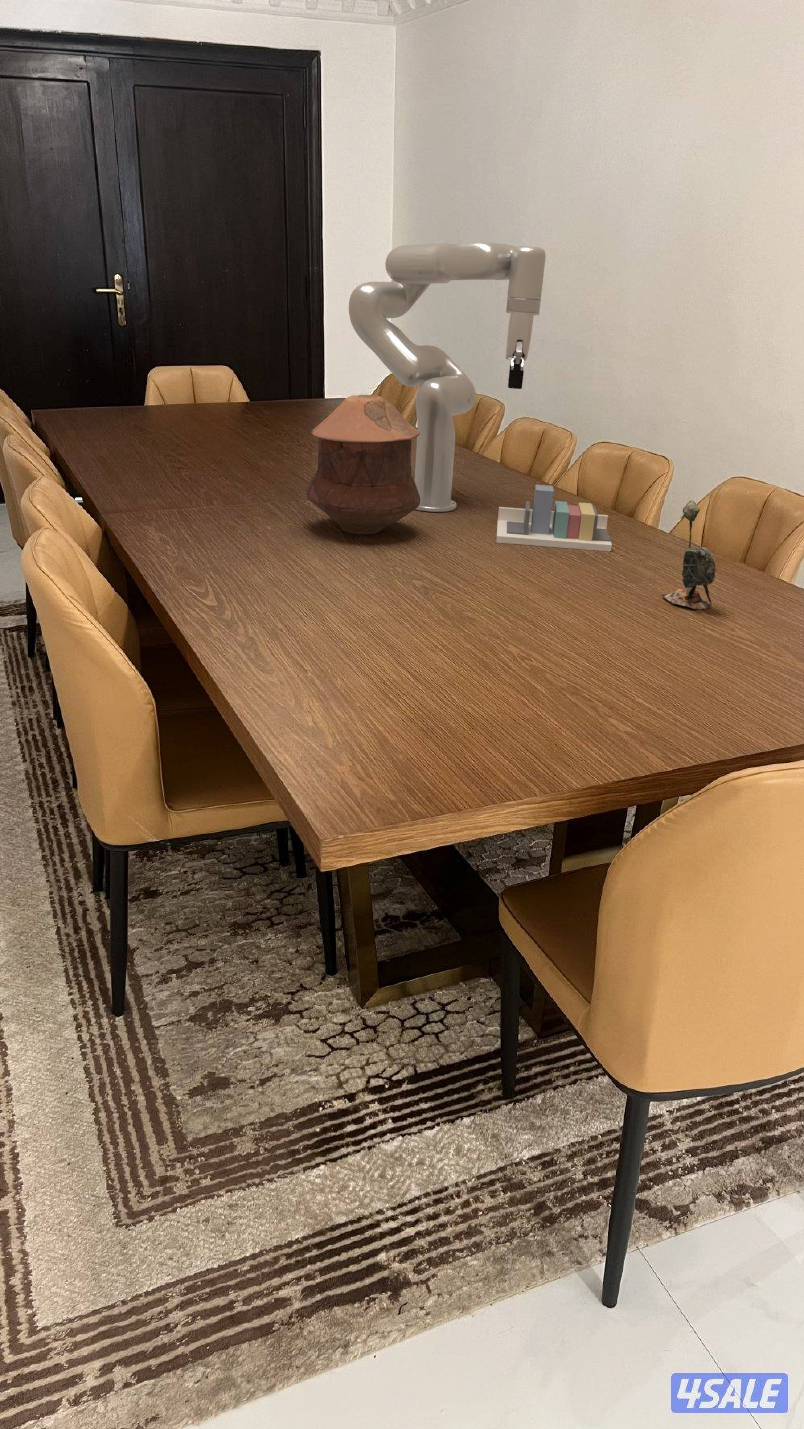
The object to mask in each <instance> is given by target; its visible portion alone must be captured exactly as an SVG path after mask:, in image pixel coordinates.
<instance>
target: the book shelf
mask: <svg viewBox="0 0 804 1429" xmlns="http://www.w3.org/2000/svg"><path fill="white" fill-rule="evenodd" d="M532 513H533V508H531V503H530V501H529V500H526V501H525V508H520V507H519V508H518V507H517V508H516V507H506V506H499V507H498V515H497V525H496V543H498V544H508V545H509V544H511V545H512V544H513V545H523V546H524V545H525V546H537V547H549V548H561V549H562V548H563V549H572V550H573V549H574V550H575V549H577V550H585V551H587V550H588V551H600V552H610V551H611V552H612V547H613V544H612V541H611V538H610V536H609V532H608V529H607V527H608V518H609V515H608V514H598V511H597V509H596V506H595V505H593V503H590V502H589V503H588V502H578V504H577V505H571V504H568V502H567V501H561V500H554V507H553V510H552V511H551V520H550V528H549V534H536V533H531V522H532Z"/></svg>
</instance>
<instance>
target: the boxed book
mask: <svg viewBox="0 0 804 1429" xmlns="http://www.w3.org/2000/svg"><path fill="white" fill-rule="evenodd" d="M534 488H535V489H534V495H533V496H534V497H533V504H532V505H533V506H532V509H533V513H532V522H531V533H536V534H549V528H550V520H551V511H553V510H552V509H553V500H554V494H555V493H554V492H555V490H554V486H553V485H547V484H535V487H534Z"/></svg>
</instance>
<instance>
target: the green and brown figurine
mask: <svg viewBox="0 0 804 1429" xmlns="http://www.w3.org/2000/svg"><path fill="white" fill-rule="evenodd" d="M700 510H701V509H700V507H699V506H698V504H697V503H696V502H695V501H694V500H689V501H688V502H687V503H686V505H685V506H684V507H683V508H682V513H683V514H682V515H681V517H680V519H681V520H683V519H684V518H686V520H687V521H689V524H688V526H689V529H688V530H689V543H688V549H686V550H684V551H685V552H684V556H683V562H682V572H681V575H682V583H683V588H679V589H676V590H675V591H673V592H669V593H665V594H663V593H662V597H663V598H664V599H665V600H667V601H669V603H670V604H672V605H674V604H675V605H678V606H682V607H686V608H689V609H693V610H697V611H698V610H699V611H700V610H704V609H709V608H711V607H712V605H713V603H714V602H713V599H712V598H711V596H710V591H709V587H708V585H711V584H713V582H714V581H715V579H716V576H717V575H716V571H717V569H716V561H715V559H714V556H713V555H712V553H711V551H710V550H709V549H708V548H707V547H703V546H694V547H691V544H692V529H693V522H695V521H696V518H697V516H698V515H699V512H700ZM697 586H698V587H699V586H703V589H704V592H705V594H706V598H707V600H708V601H709V602H708V601H707V600H706V599H704V598H702V597H701V594H700V593H699V591H698V590H696V589H697Z"/></svg>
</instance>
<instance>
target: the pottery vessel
mask: <svg viewBox="0 0 804 1429" xmlns="http://www.w3.org/2000/svg"><path fill="white" fill-rule="evenodd" d="M310 434H311V435H312V436H313V437H315V438H318V439H317V448H318V449H317V451H318V452H317V453H318V454H317V470H316V472H315V473H314V474H313V476H312V478H311V479H310V481H309V483H308V485H307V487H306V491H305V494H306V497H307V499H308V500H309V501H310V502H311V503H312V504H313V505H314V506H316V507H318V509H320V510H321V511H322V512H324V513H325V514H326V515H327V516H328V517H329V518H331V519H332V520H334V521H335V523H336V524H338V526H340V529H341V530H342V532H345V533H348V534H349V533H350V534H354V535H374V534H378V533H380V532H382V531H383V529H384V528H386V527H388V526H391V525H392V524H394V523H397V522H398V521H400V520H401V519H403V518H404V517H406V516H408V515H409V514H411V513H412V512H413V511H414V510H417V509H416V508H417V507H418V506H419V504H420V496H419V493H418V490H417V487H416V484H415V479H414V478H413V476H412V459H411V458H412V457H411V456H412V454H411V453H412V441H413V439H415V438H417V436H419V435H420V431H419V430H417V428H416V427H415V426H413V425H412V424H410V422H409V421H408V420H407V419H406V418H405V417H404V416H403V415H402V414H401V412H400V411H399V409H397V408H396V407H395V406H394V405H393V404H392V403H391V402H389V400H387V399H385V398H384V397H383V396H380V395H377V394H356V395H355V394H354V395H350V396H346V398H344V400H342V402H341V403H340V404H339V405H338V406H337V407H336V408H335V409H334V410H333V411H332V412H331V413H330V414H329V415H328V416H327V417H326V418H325V419H323V421H321V422H320V423H319V424H318V425H317V426H316V427H314V428H313V429H312V430H311V432H310Z"/></svg>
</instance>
